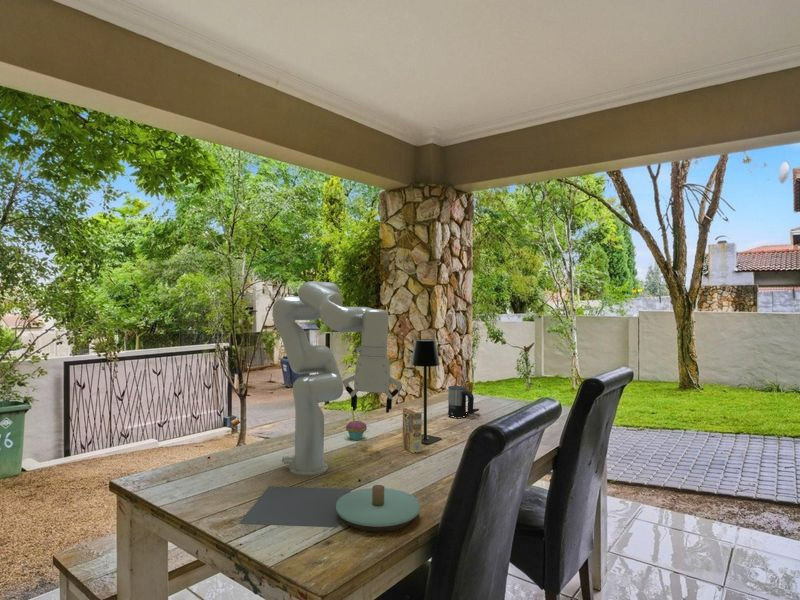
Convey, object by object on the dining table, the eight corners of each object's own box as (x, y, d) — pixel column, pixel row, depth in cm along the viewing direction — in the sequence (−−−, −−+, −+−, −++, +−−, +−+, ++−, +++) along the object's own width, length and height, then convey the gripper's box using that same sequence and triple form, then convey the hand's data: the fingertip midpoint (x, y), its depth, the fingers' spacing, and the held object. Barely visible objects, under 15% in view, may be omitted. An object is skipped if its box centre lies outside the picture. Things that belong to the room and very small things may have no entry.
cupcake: (342, 440, 200) (343, 410, 200) (349, 434, 209) (350, 406, 209) (363, 442, 198) (363, 412, 198) (369, 436, 207) (369, 408, 207)
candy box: (421, 452, 187) (422, 411, 187) (412, 453, 185) (412, 412, 185) (411, 445, 195) (411, 407, 195) (401, 447, 193) (402, 407, 193)
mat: (238, 525, 124) (238, 523, 124) (268, 487, 149) (268, 486, 149) (337, 528, 123) (337, 527, 123) (351, 490, 148) (351, 488, 148)
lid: (329, 525, 119) (329, 502, 119) (342, 490, 141) (342, 471, 141) (420, 528, 119) (420, 505, 119) (419, 492, 141) (419, 473, 141)
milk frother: (444, 417, 244) (445, 387, 244) (454, 411, 258) (455, 382, 258) (472, 420, 238) (473, 390, 238) (481, 414, 253) (481, 385, 253)
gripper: (341, 351, 139) (339, 412, 140) (402, 355, 138) (400, 415, 139) (346, 348, 147) (343, 405, 147) (404, 351, 146) (401, 409, 146)
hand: (371, 410), depth 143 cm, fingers open, 9 cm apart
